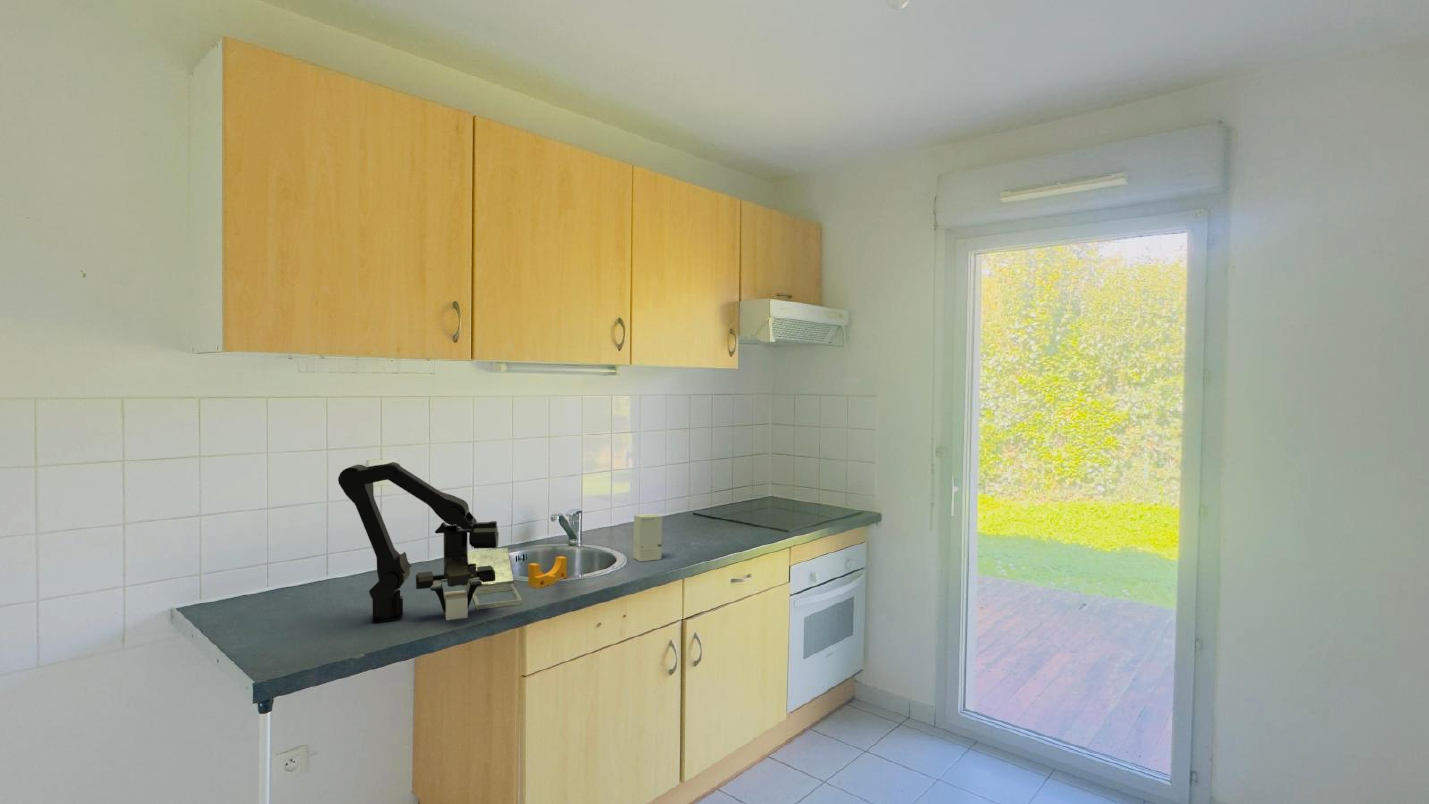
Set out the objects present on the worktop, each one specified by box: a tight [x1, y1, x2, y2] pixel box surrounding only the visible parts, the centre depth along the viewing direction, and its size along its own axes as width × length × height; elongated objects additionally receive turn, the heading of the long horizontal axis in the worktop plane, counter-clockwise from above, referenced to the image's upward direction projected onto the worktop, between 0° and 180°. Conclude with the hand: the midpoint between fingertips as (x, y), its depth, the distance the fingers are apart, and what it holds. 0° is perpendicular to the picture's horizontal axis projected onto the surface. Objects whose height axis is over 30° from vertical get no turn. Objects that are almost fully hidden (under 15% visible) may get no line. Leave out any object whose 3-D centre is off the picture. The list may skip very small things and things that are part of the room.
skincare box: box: [632, 513, 663, 563], centre depth 236 cm, size 8×6×15 cm
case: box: [468, 547, 523, 611], centre depth 198 cm, size 11×27×9 cm, turn 24°
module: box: [443, 589, 469, 621], centre depth 179 cm, size 5×7×5 cm
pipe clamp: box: [528, 555, 568, 589], centre depth 208 cm, size 12×4×6 cm, turn 142°
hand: (455, 610), depth 179 cm, fingers closed on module, 5 cm apart
